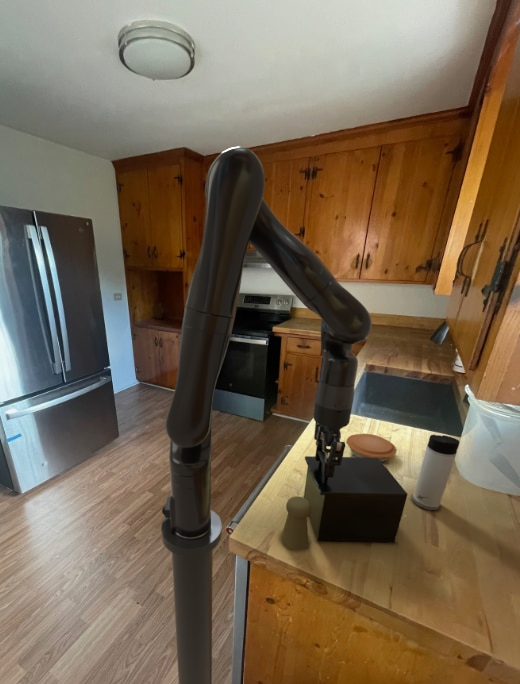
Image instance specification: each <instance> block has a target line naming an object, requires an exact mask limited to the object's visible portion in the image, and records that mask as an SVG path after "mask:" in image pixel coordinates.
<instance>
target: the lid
mask: <svg viewBox="0 0 520 684" xmlns="http://www.w3.org/2000/svg"><path fill="white" fill-rule="evenodd" d="M317 454H318V456H319V461H316V459H315V455H314V456H309V455H307V456H304V460H305V463H306V465H307V468H308V467H309V470H310V472H311V475H312V477H313V479H314V482H315V484H316V486H317V489H318V491H319V494H320V495H336V496H385V497H407V498H408V492H407V491H406V490H405V489H404V488H403V487H402V485H401V484H400V482H398V480H397V479H396V477H394V475H393V474H392V473H391V472H390V471H389V469H388V468H387V466H386V465H385V464H384V462H381V461H380V459H379V458H365V457H356V456H343V457H342V461H341V465H340V466H335V469H334V475H333V477H331V478H330V477H324V476H323V468H324V462H325V453H324V452H323V451H322V449H319V450H318V451H317Z"/></svg>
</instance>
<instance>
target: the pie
mask: <svg viewBox="0 0 520 684" xmlns="http://www.w3.org/2000/svg"><path fill="white" fill-rule="evenodd" d="M346 445H347V446H348V448H349V450H350V452H351V454H352V455H353V456H354V457H365V458H379V459H380V461H381V462H382V463H384V462H386V461H388V460H389V459H390V458H391V457H393V456H395V455H396V453H397V447H396V446H395V445H394V444H393V443H392V442H391V441H389V440H388V439H386V438H384V437H382V436H379V435H375V434H370V433H355V434H352V435H350V436H348V437H347V438H346Z"/></svg>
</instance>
